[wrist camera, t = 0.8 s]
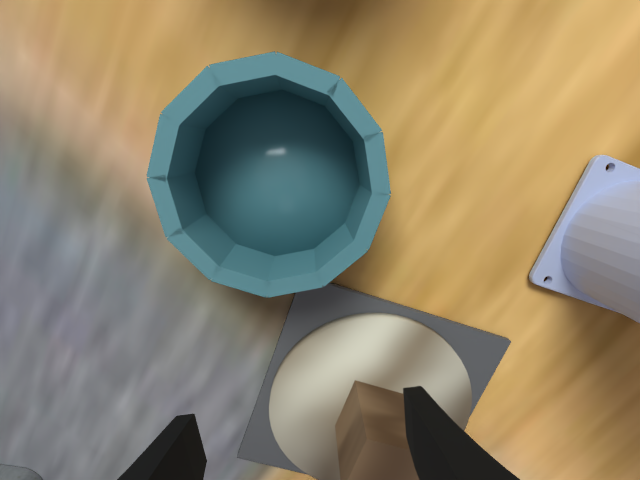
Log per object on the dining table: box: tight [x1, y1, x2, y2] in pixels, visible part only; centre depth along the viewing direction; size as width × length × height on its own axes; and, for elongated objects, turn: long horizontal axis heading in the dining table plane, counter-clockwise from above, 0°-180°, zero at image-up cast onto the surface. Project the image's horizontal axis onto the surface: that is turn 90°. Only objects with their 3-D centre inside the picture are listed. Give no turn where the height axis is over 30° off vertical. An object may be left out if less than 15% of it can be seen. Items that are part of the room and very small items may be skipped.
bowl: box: [147, 52, 391, 298], centre depth 17 cm, size 10×10×4 cm
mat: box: [237, 282, 511, 474], centre depth 23 cm, size 14×14×1 cm
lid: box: [269, 313, 472, 480], centre depth 20 cm, size 13×13×5 cm
